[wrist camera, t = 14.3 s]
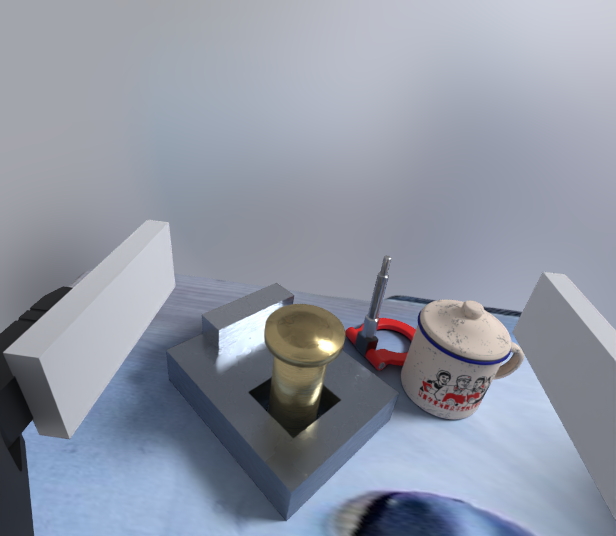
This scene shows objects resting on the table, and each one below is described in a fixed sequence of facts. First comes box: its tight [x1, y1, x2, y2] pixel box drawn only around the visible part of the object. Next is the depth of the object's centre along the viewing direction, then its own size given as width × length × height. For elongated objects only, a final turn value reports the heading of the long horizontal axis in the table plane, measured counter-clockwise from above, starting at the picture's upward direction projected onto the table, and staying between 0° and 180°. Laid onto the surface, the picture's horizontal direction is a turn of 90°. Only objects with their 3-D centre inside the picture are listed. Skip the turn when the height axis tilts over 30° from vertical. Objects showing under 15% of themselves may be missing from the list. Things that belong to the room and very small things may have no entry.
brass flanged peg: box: [264, 304, 345, 439], centre depth 33 cm, size 6×6×12 cm
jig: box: [166, 283, 399, 521], centre depth 37 cm, size 18×14×6 cm
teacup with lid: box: [401, 300, 524, 419], centre depth 40 cm, size 12×9×12 cm
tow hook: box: [345, 256, 416, 370], centre depth 45 cm, size 8×13×9 cm
